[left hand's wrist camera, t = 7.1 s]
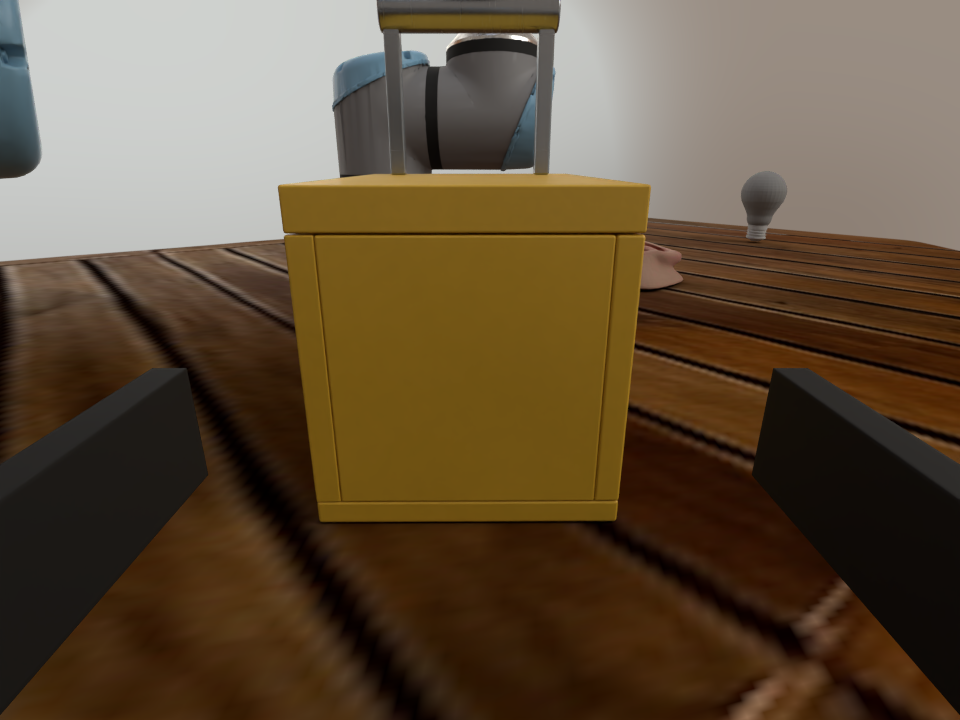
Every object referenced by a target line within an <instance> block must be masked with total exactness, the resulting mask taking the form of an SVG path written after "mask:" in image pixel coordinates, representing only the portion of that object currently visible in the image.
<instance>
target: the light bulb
mask: <svg viewBox="0 0 960 720" xmlns="http://www.w3.org/2000/svg"><path fill="white" fill-rule="evenodd" d="M786 194H787V186H786V183H785V181H784V179H783V178H782V177H781V176H780V175H779V174H777V173H774V172H770V171H765V172H760V173H757V174H755V175H753V176H752V177H751V178H749V179H748V180H747V182H746V183H745V184H744V186H743V188H742V192H741V199H742V202H743V205H744V207H745V210H746V213H747V222H748V230H747V231H748V232H747V233H748V235H747V236H746V238H748V239H750V240H751V241H760V240H763V239H765V238H766V237H765V233H766V232H765V231H766V230H767V227H768V224H769V223H770V222H771V219H772V216H773V214H774V213H775V212H776V210H777V209H778V208H779V207H780V205H781V204H782V203H783V201H784V199H785V197H786Z"/></svg>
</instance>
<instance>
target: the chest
mask: <svg viewBox="0 0 960 720" xmlns="http://www.w3.org/2000/svg"><path fill="white" fill-rule="evenodd" d="M284 241H285V249H286V257H287V266H288V274H289V282H290V290H291V298H292V306H293V314H294V322H295V330H296V338H297V346H298V354H299V362H300V370H301V379H302V387H303V395H304V403H305V411H306V419H307V427H308V435H309V443H310V451H311V459H312V467H313V475H314V483H315V492H316V500H317V502H318V503H317V505H318V513H319V520H320V522H491V521H615V520H616V516H617V506H618V501H617V500H618V497H619V487H620V478H621V468H622V458H623V449H624V439H625V429H626V420H627V410H628V400H629V391H630V381H631V372H632V362H633V352H634V343H635V333H636V323H637V314H638V304H639V294H640V285H641V275H642V266H643V256H644V246H645V236H644V235H642V234H640V233H290V234H288V235H285V236H284Z"/></svg>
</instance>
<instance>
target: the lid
mask: <svg viewBox="0 0 960 720" xmlns="http://www.w3.org/2000/svg"><path fill="white" fill-rule="evenodd" d="M560 9H561V0H377V15H378V22H379V27H380V30H381V32H382V33H383V35H384V53H385V72H386V90H387V108H388V127H389V145H390V164H391V174H370V175H362V176H353V177H344V178H336V179H327V180H318V181H310V182H301V183H292V184H283V185H279V186H278V192H279V200H280V208H281V216H282V224H283V231H284V233H645V232H646V230H647V220H648V210H649V201H650V191H651V186H650V185H648V184H640V183H632V182H625V181H617V180H609V179H602V178H594V177H586V176H578V175H571V174H549V157H550V132H551V108H552V84H553V60H554V36H555V33H557V31H558V27H559V20H560ZM401 33H538V39H537V71H536V102H535V134H534V165H533V173H534V174H407V162H406V140H405V117H404V95H403V72H402V50H401Z"/></svg>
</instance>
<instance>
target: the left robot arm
mask: <svg viewBox="0 0 960 720" xmlns="http://www.w3.org/2000/svg"><path fill="white" fill-rule="evenodd" d="M41 156H42V146H41V140H40V134H39V127H38V121H37V115H36V109H35V103H34V97H33V90H32V84H31V78H30V72H29V65H28V59H27V52H26V47H25V40H24V34H23V28H22V21H21V15H20V8H19V2H18V0H0V179H3V178H17V177H20V176H24V175H26V174H28V173H30V172H31V171H33V170H34V169H35V168H36V167H37V165H38V164H39V163H40V160H41ZM207 476H208V471H207V466H206V461H205V456H204V452H203V447H202V442H201V437H200V432H199V427H198V422H197V417H196V412H195V407H194V402H193V397H192V392H191V387H190V382H189V378H188V373H187V368H152V369H150V370H149V371H147V372H146V373H144V374H143V375H141V376H139V377H138V378H136V379H135V380H133V381H132V382H130V383H128V384H127V385H125V386H124V387H122V388H120V389H119V390H117V391H116V392H114V393H113V394H111V395H109V396H108V397H106V398H105V399H103V400H101V401H100V402H98V403H97V404H95V405H94V406H92V407H90V408H89V409H87V410H86V411H84V412H83V413H81V414H79V415H78V416H76V417H75V418H73V419H71V420H70V421H68V422H67V423H65V424H64V425H62V426H60V427H59V428H57V429H56V430H54V431H52V432H51V433H49V434H48V435H46V436H45V437H43V438H41V439H40V440H38V441H37V442H35V443H34V444H32V445H30V446H29V447H27V448H26V449H24V450H22V451H21V452H19V453H18V454H16V455H15V456H13V457H11V458H10V459H8V460H7V461H5V462H4V463H2V464H0V715H1V713H2V712H3V711H4V710H5V709H6V708H7V707H8V705H9V704H10V703H11V702H12V701H13V700H14V698H15V697H16V696H17V695H18V694H19V693H20V692H21V690H22V689H23V688H24V687H25V686H26V685H27V683H28V682H29V681H30V680H31V679H32V678H33V677H34V675H35V674H36V673H37V672H38V671H39V670H40V668H41V667H42V666H43V665H44V664H45V663H46V661H47V660H48V659H49V658H50V657H51V656H52V655H53V653H54V652H55V651H56V650H57V649H58V648H59V646H60V645H61V644H62V643H63V642H64V641H65V640H66V638H67V637H68V636H69V635H70V634H71V633H72V631H73V630H74V629H75V628H76V627H77V626H78V625H79V623H80V622H81V621H82V620H83V619H84V618H85V616H86V615H87V614H88V613H89V612H90V611H91V610H92V608H93V607H94V606H95V605H96V604H97V603H98V601H99V600H100V599H101V598H102V597H103V596H104V595H105V593H106V592H107V591H108V590H109V589H110V588H111V586H112V585H113V584H114V583H115V582H116V581H117V580H118V578H119V577H120V576H121V575H122V574H123V573H124V571H125V570H126V569H127V568H128V567H129V566H130V564H131V563H132V562H133V561H134V560H135V559H136V558H137V556H138V555H139V554H140V553H141V552H142V551H143V549H144V548H145V547H146V546H147V545H148V544H149V543H150V541H151V540H152V539H153V538H154V537H155V536H156V534H157V533H158V532H159V531H160V530H161V529H162V528H163V526H164V525H165V524H166V523H167V522H168V521H169V519H170V518H171V517H172V516H173V515H174V514H175V513H176V511H177V510H178V509H179V508H180V507H181V506H182V504H183V503H184V502H185V501H186V500H187V499H188V498H189V496H190V495H191V494H192V493H193V492H194V491H195V489H196V488H197V487H198V486H199V485H200V484H201V483H202V481H203V480H204V479H205V478H206V477H207ZM752 476H753V477H754V478H755V479H756V480H757V481H758V483H759V484H760V485H761V486H762V487H763V488H764V489H765V491H766V492H767V493H768V494H769V495H770V496H771V498H772V499H773V500H774V501H775V502H776V503H777V504H778V506H779V507H780V508H781V509H782V510H783V511H784V513H785V514H786V515H787V516H788V517H789V518H790V519H791V521H792V522H793V523H794V524H795V525H796V526H797V528H798V529H799V530H800V531H801V532H802V533H803V534H804V536H805V537H806V538H807V539H808V540H809V541H810V543H811V544H812V545H813V546H814V547H815V548H816V549H817V551H818V552H819V553H820V554H821V555H822V556H823V558H824V559H825V560H826V561H827V562H828V563H829V564H830V566H831V567H832V568H833V569H834V570H835V571H836V573H837V574H838V575H839V576H840V577H841V578H842V580H843V581H844V582H845V583H846V584H847V585H848V586H849V588H850V589H851V590H852V591H853V592H854V593H855V595H856V596H857V597H858V598H859V599H860V600H861V601H862V603H863V604H864V605H865V606H866V607H867V608H868V610H869V611H870V612H871V613H872V614H873V615H874V616H875V618H876V619H877V620H878V621H879V622H880V623H881V625H882V626H883V627H884V628H885V629H886V630H887V631H888V633H889V634H890V635H891V636H892V637H893V638H894V640H895V641H896V642H897V643H898V644H899V645H900V646H901V648H902V649H903V650H904V651H905V652H906V653H907V655H908V656H909V657H910V658H911V659H912V660H913V661H914V663H915V664H916V665H917V666H918V667H919V668H920V670H921V671H922V672H923V673H924V674H925V675H926V676H927V678H928V679H929V680H930V681H931V682H932V683H933V685H934V686H935V687H936V688H937V689H938V690H939V692H940V693H941V694H942V695H943V696H944V697H945V698H946V700H947V701H948V702H949V703H950V704H951V705H952V707H953V708H954V709H955V710H956V711H957V712H958V713H959V715H960V464H958V463H956V462H955V461H953V460H952V459H950V458H949V457H947V456H945V455H944V454H942V453H941V452H939V451H938V450H936V449H934V448H933V447H931V446H930V445H928V444H926V443H925V442H923V441H922V440H920V439H919V438H917V437H915V436H914V435H912V434H911V433H909V432H908V431H906V430H904V429H903V428H901V427H900V426H898V425H896V424H895V423H893V422H892V421H890V420H889V419H887V418H885V417H884V416H882V415H881V414H879V413H877V412H876V411H874V410H873V409H871V408H870V407H868V406H866V405H865V404H863V403H862V402H860V401H859V400H857V399H855V398H854V397H852V396H851V395H849V394H847V393H846V392H844V391H843V390H841V389H840V388H838V387H836V386H835V385H833V384H832V383H830V382H828V381H827V380H825V379H824V378H822V377H821V376H819V375H817V374H816V373H814V372H813V371H811V370H810V369H808V368H773V373H772V378H771V382H770V387H769V392H768V397H767V402H766V407H765V412H764V417H763V422H762V427H761V432H760V437H759V442H758V447H757V452H756V456H755V461H754V466H753V471H752Z"/></svg>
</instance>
